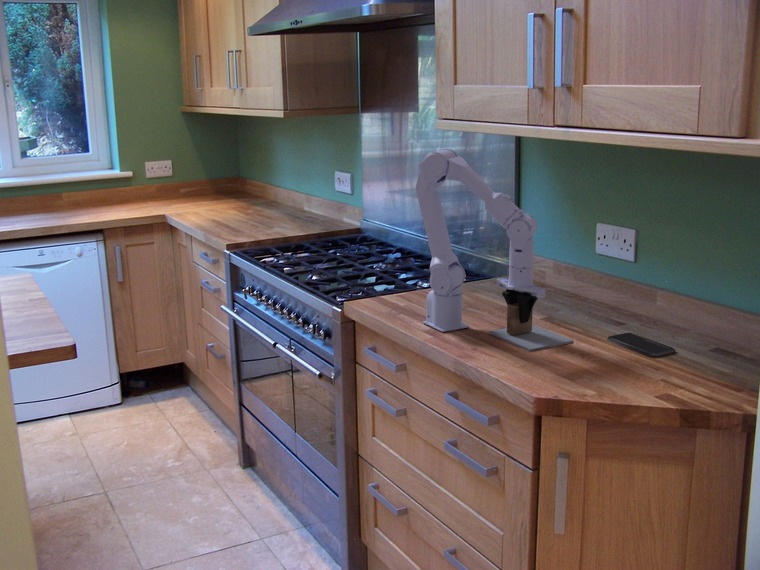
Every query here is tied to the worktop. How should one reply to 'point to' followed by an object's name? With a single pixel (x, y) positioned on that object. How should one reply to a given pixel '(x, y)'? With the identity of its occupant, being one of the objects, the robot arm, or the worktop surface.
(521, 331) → the brown wooden block
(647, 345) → the phone
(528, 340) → the rubber mat
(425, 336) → the worktop surface
